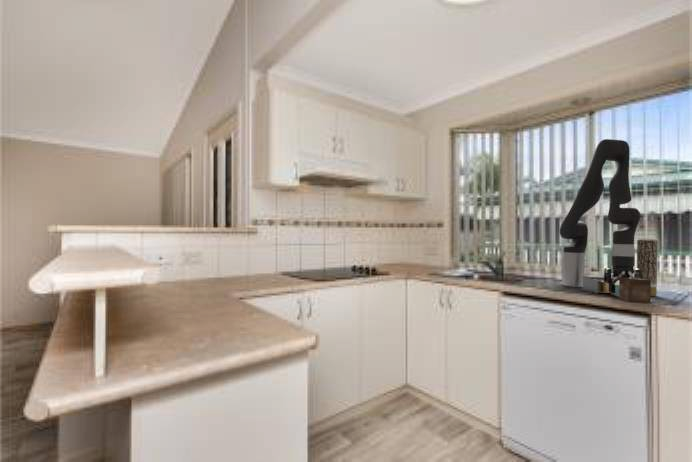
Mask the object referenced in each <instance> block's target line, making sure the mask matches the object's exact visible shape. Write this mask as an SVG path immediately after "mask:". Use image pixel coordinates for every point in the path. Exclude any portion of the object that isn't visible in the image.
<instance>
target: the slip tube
mask: <svg viewBox="0 0 692 462" xmlns="http://www.w3.org/2000/svg"><path fill="white" fill-rule="evenodd" d="M614 285H615V293H611V294H610V295H615V296H619V282H616V283H615V284H614ZM601 291H602V292H607V293H610V292H609V284H608V283H606V282H604V281H601Z"/></svg>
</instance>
